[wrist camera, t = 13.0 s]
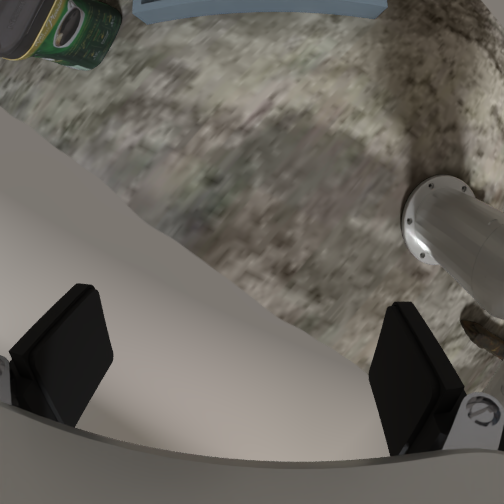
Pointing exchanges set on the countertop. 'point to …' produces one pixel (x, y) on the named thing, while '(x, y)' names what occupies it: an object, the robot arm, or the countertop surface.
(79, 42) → the coffee jar
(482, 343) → the hand tool
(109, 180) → the countertop surface
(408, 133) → the countertop surface
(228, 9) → the bin
